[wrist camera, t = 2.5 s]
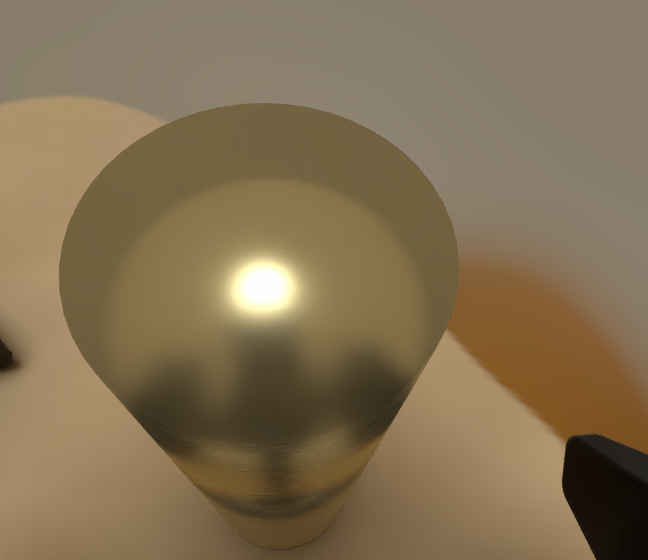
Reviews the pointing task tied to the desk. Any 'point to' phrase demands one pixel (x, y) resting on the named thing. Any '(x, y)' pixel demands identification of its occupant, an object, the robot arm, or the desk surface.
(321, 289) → the brass hinge pin
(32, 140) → the desk surface
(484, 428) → the desk surface
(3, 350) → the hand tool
